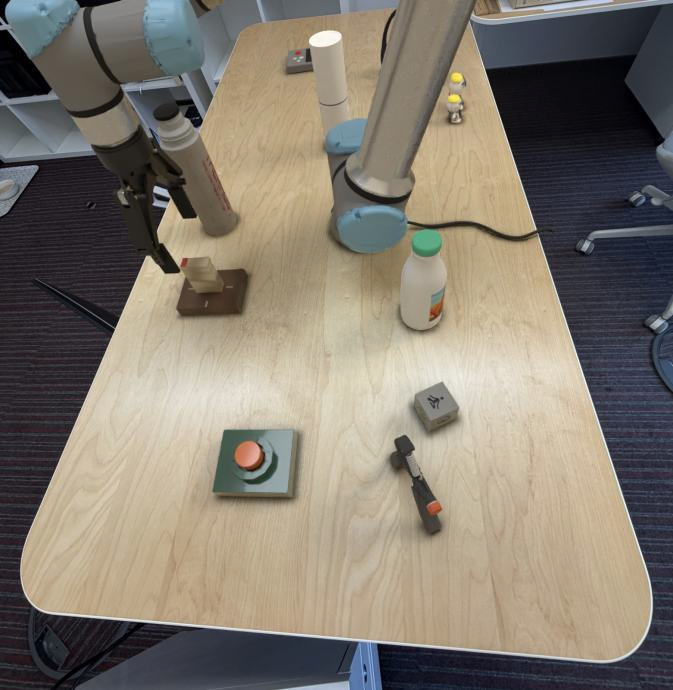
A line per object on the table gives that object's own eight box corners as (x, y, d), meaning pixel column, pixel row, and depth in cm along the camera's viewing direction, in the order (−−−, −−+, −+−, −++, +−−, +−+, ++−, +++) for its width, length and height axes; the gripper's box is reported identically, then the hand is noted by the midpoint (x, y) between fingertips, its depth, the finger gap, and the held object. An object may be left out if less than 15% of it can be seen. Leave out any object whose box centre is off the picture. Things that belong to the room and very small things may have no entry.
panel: (247, 276, 90) (243, 267, 88) (240, 313, 85) (236, 305, 83) (191, 278, 92) (186, 271, 89) (181, 315, 87) (175, 308, 84)
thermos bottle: (240, 213, 101) (192, 96, 77) (230, 236, 97) (176, 121, 73) (211, 211, 103) (155, 97, 79) (200, 234, 99) (137, 121, 75)
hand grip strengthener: (428, 537, 59) (437, 522, 47) (388, 459, 66) (386, 427, 53) (442, 530, 60) (455, 513, 47) (401, 452, 66) (402, 419, 53)
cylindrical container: (321, 151, 110) (303, 46, 88) (331, 135, 113) (316, 29, 91) (346, 155, 107) (334, 47, 86) (356, 138, 111) (346, 31, 89)
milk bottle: (414, 338, 77) (419, 265, 60) (392, 309, 81) (391, 234, 64) (449, 319, 78) (464, 243, 61) (426, 292, 82) (433, 213, 65)
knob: (224, 283, 86) (208, 255, 79) (222, 292, 85) (206, 265, 78) (199, 284, 87) (182, 257, 80) (196, 293, 86) (179, 266, 79)
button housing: (297, 435, 70) (291, 425, 66) (292, 497, 65) (284, 490, 60) (230, 435, 71) (219, 425, 67) (219, 495, 66) (207, 489, 62)
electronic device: (287, 49, 136) (332, 43, 135) (289, 58, 138) (333, 51, 137) (286, 65, 131) (333, 59, 129) (288, 74, 133) (334, 67, 131)
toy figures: (461, 125, 108) (466, 92, 101) (444, 125, 109) (447, 92, 102) (463, 99, 114) (467, 66, 107) (447, 99, 115) (450, 67, 107)
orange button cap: (265, 444, 65) (261, 440, 63) (262, 470, 63) (258, 467, 61) (241, 444, 65) (236, 440, 64) (236, 470, 63) (232, 466, 62)
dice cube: (413, 406, 70) (414, 394, 66) (439, 394, 70) (442, 381, 66) (428, 431, 67) (430, 420, 63) (455, 418, 68) (459, 407, 64)
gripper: (117, 87, 64) (178, 198, 82) (55, 195, 51) (143, 298, 69) (163, 82, 63) (214, 195, 81) (111, 191, 50) (185, 297, 68)
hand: (182, 243), depth 75 cm, fingers open, 13 cm apart
